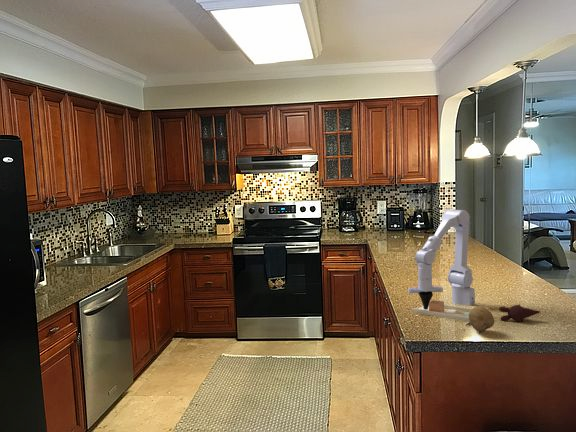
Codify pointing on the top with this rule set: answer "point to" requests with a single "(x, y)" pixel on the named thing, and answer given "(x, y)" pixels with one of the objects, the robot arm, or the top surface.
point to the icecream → (517, 313)
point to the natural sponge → (481, 318)
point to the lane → (447, 313)
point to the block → (436, 306)
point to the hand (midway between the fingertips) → (425, 308)
